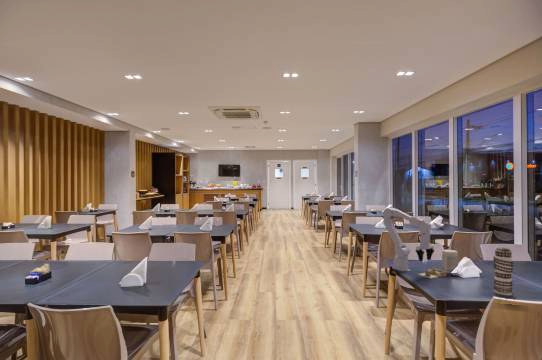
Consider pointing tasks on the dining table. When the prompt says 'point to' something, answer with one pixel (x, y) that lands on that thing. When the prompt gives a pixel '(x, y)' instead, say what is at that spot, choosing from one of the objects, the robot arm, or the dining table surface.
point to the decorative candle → (503, 271)
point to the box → (437, 272)
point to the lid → (428, 275)
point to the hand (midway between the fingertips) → (424, 260)
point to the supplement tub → (449, 260)
